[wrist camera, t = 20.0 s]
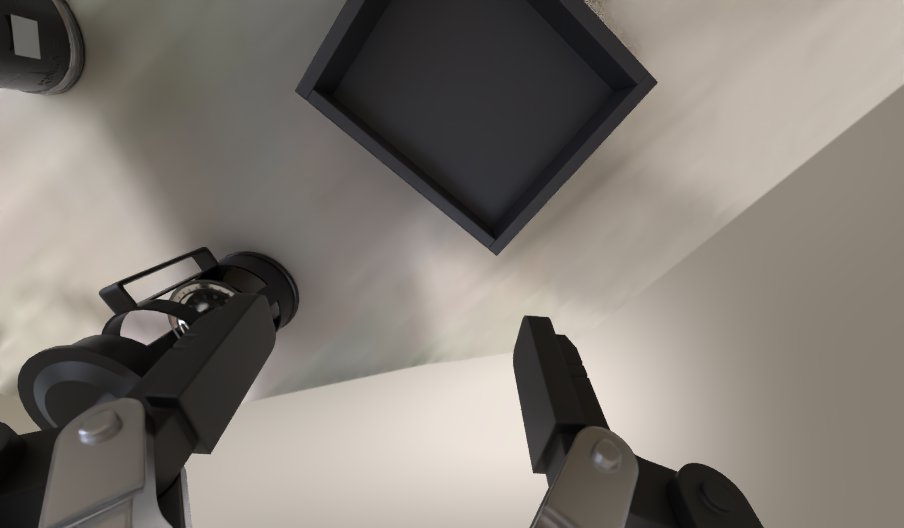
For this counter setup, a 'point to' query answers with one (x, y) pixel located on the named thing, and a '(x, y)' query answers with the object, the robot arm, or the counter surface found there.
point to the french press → (125, 360)
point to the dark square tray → (476, 98)
